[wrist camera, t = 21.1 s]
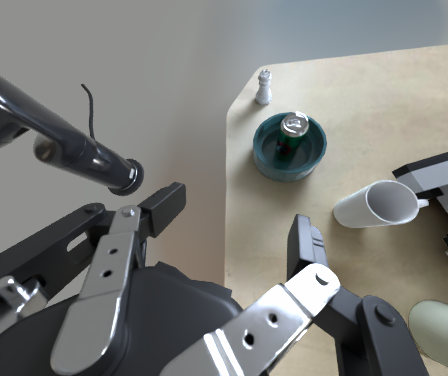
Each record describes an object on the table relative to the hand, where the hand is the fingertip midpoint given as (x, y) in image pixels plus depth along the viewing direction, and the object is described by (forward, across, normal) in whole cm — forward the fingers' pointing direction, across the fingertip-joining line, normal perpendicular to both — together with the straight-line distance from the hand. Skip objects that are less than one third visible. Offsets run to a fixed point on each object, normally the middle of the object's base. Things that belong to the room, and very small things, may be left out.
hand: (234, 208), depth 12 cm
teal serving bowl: (+35, -4, +6) cm, 36 cm away
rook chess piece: (+46, +5, -6) cm, 47 cm away
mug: (+28, -21, +13) cm, 37 cm away
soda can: (+34, -4, +6) cm, 35 cm away
